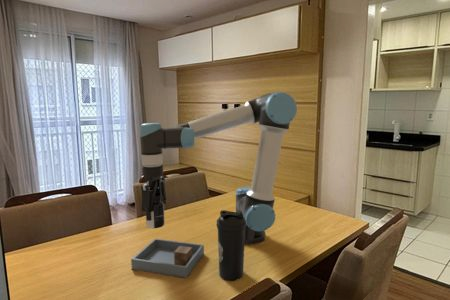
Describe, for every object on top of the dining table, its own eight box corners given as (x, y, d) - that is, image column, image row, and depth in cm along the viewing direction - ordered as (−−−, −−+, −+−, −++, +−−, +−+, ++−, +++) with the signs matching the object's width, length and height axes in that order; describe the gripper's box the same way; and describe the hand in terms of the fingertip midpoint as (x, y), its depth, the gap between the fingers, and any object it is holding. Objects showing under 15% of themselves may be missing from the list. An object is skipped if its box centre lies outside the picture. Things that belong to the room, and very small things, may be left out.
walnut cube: (192, 259, 115) (191, 247, 114) (186, 266, 110) (186, 253, 109) (180, 257, 116) (179, 245, 115) (174, 264, 111) (174, 251, 111)
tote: (203, 254, 120) (203, 244, 120) (186, 278, 103) (186, 267, 103) (155, 247, 126) (155, 238, 125) (131, 269, 109) (131, 259, 109)
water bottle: (216, 267, 111) (215, 207, 107) (243, 265, 112) (243, 206, 108) (217, 283, 101) (217, 218, 97) (247, 281, 102) (248, 216, 98)
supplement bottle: (160, 229, 110) (158, 198, 108) (143, 228, 112) (141, 197, 110) (167, 222, 117) (166, 192, 115) (151, 221, 118) (149, 191, 116)
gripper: (156, 159, 121) (159, 214, 125) (128, 170, 102) (132, 233, 106) (173, 160, 119) (176, 215, 123) (147, 171, 100) (151, 236, 104)
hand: (155, 223), depth 114 cm, fingers closed on supplement bottle, 7 cm apart
